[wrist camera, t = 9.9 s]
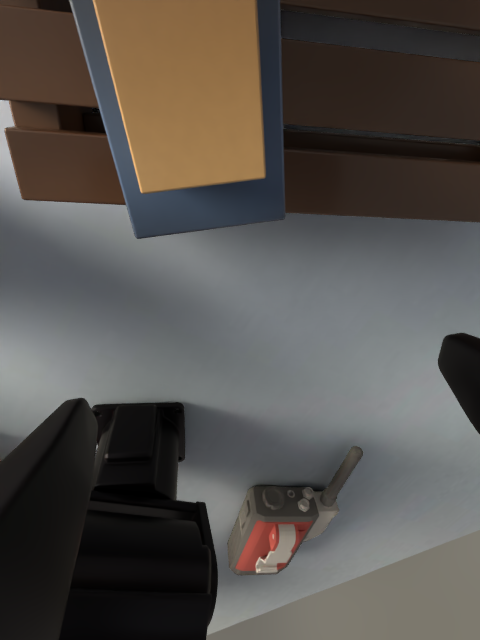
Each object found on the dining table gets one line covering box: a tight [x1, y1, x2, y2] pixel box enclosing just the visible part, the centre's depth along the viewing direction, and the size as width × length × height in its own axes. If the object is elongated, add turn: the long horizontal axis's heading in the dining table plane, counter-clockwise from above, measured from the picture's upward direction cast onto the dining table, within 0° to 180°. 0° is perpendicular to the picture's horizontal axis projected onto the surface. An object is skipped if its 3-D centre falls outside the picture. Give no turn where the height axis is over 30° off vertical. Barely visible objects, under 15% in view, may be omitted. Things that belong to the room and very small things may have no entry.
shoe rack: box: [0, 0, 480, 222], centre depth 12 cm, size 11×22×5 cm, turn 85°
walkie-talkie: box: [227, 446, 363, 575], centre depth 32 cm, size 9×4×20 cm
